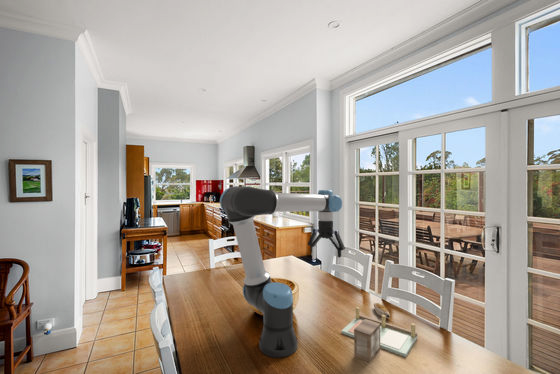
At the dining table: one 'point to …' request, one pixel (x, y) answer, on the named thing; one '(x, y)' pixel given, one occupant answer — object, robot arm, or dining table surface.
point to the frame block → (367, 340)
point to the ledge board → (387, 334)
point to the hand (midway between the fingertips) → (325, 261)
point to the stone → (381, 310)
